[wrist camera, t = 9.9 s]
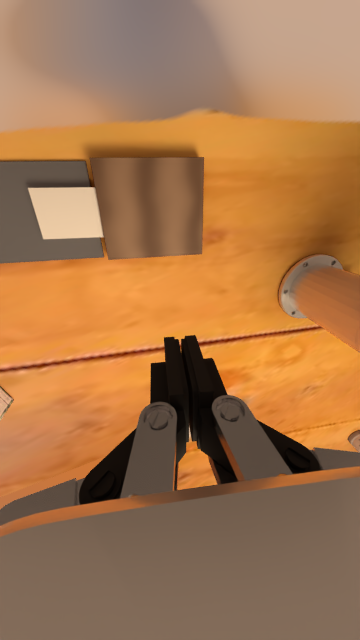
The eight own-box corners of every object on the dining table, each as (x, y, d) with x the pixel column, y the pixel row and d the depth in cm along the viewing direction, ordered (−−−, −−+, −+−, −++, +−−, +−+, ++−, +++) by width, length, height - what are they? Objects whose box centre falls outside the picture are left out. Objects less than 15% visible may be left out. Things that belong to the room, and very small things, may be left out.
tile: (97, 188, 29) (95, 187, 27) (105, 235, 32) (103, 237, 30) (33, 188, 28) (27, 187, 26) (47, 237, 30) (43, 239, 29)
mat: (85, 161, 28) (85, 161, 27) (104, 256, 33) (103, 257, 33) (-54, 162, 26) (-56, 161, 25) (-9, 263, 31) (-11, 263, 31)
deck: (199, 161, 29) (204, 157, 27) (198, 251, 35) (202, 254, 33) (93, 161, 28) (89, 157, 25) (110, 256, 33) (108, 259, 31)
